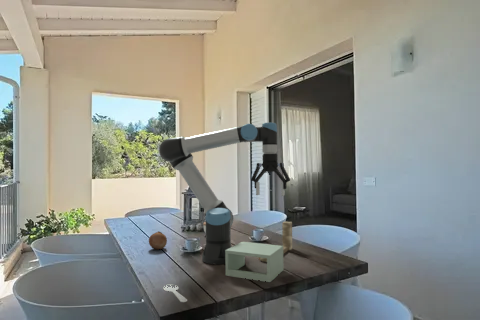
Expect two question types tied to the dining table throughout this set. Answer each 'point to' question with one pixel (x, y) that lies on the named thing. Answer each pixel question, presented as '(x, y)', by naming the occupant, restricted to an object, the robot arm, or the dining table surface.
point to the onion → (157, 240)
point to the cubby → (239, 251)
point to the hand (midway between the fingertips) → (270, 195)
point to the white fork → (175, 292)
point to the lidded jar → (204, 226)
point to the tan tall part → (285, 238)
